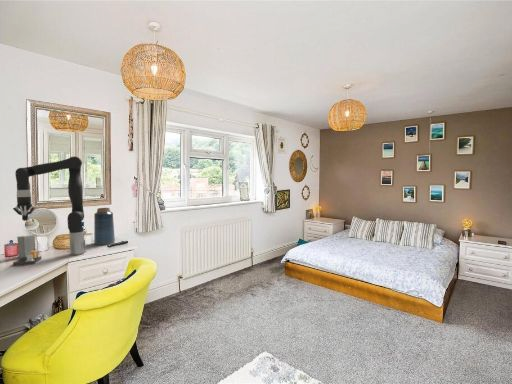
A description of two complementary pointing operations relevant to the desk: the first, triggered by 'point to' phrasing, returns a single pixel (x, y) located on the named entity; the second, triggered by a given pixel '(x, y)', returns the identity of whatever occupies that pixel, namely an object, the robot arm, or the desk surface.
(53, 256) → the desk surface
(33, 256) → the orange rectangular block
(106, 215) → the blue lidded jar
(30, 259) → the panel
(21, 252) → the skincare box
